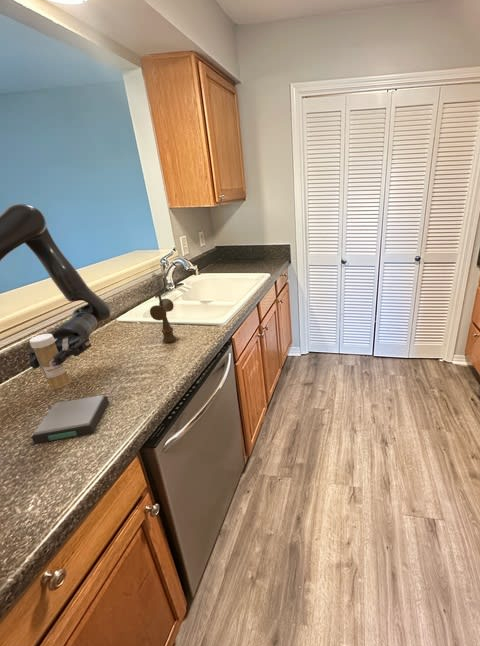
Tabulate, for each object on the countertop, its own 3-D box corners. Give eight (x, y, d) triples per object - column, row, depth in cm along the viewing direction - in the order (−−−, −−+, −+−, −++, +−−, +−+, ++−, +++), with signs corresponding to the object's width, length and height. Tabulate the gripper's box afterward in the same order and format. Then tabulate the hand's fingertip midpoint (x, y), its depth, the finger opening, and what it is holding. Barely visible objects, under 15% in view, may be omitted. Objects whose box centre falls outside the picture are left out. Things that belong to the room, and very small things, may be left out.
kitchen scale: (33, 445, 78) (29, 435, 77) (58, 410, 90) (54, 402, 89) (92, 434, 80) (89, 424, 79) (108, 402, 92) (106, 393, 91)
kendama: (157, 346, 124) (145, 297, 116) (166, 336, 133) (156, 289, 125) (173, 346, 124) (161, 296, 116) (181, 335, 133) (171, 288, 125)
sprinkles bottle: (59, 390, 80) (39, 342, 74) (44, 388, 81) (23, 340, 75) (75, 380, 84) (56, 333, 78) (60, 378, 85) (42, 332, 79)
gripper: (40, 325, 89) (4, 354, 74) (96, 318, 92) (73, 345, 77) (49, 349, 92) (16, 382, 77) (104, 342, 95) (83, 372, 80)
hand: (45, 363), depth 77 cm, fingers closed on sprinkles bottle, 4 cm apart
